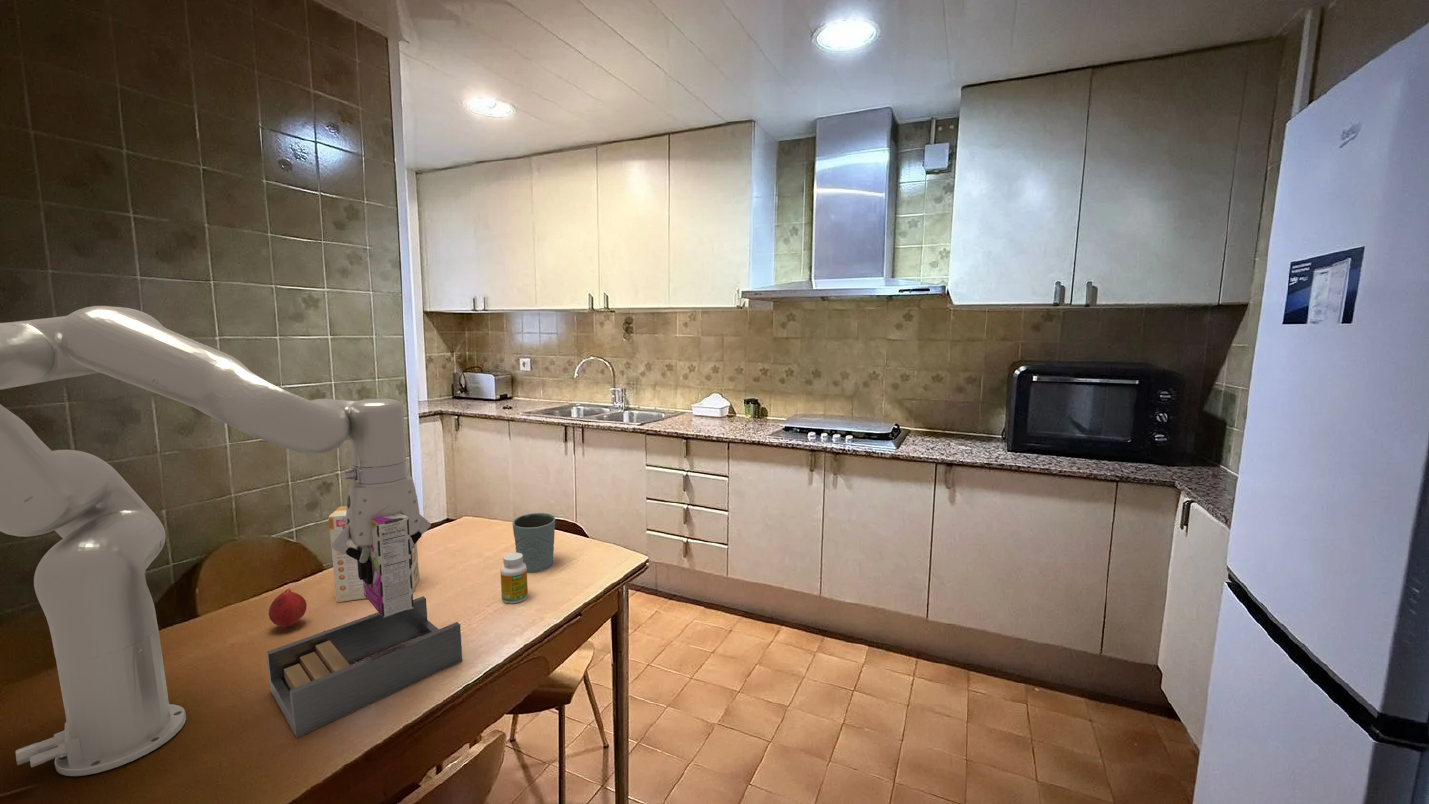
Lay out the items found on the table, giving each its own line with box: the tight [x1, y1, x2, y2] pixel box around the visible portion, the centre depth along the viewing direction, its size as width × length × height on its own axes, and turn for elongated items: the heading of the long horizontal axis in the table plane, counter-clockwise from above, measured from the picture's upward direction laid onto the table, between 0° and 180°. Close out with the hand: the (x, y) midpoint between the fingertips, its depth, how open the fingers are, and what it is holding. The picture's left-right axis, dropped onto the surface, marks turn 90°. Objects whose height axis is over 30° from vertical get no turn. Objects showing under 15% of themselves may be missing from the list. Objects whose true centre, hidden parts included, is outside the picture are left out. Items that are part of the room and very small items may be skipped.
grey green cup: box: [512, 512, 556, 574], centre depth 134 cm, size 10×10×12 cm
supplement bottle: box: [500, 552, 529, 605], centre depth 118 cm, size 5×5×10 cm
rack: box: [266, 595, 463, 739], centre depth 91 cm, size 24×15×7 cm, turn 140°
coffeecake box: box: [328, 505, 420, 603], centre depth 120 cm, size 15×7×20 cm, turn 108°
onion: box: [268, 587, 308, 628], centre depth 106 cm, size 6×6×8 cm
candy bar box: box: [363, 513, 414, 618], centre depth 92 cm, size 11×5×16 cm, turn 47°
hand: (386, 575), depth 92 cm, fingers closed on candy bar box, 5 cm apart
